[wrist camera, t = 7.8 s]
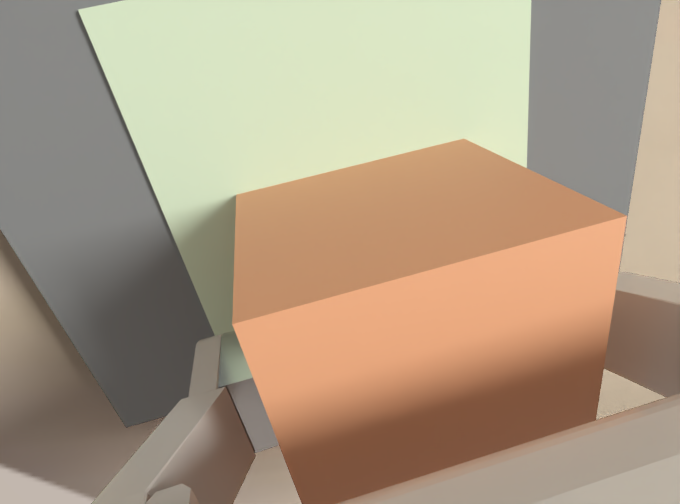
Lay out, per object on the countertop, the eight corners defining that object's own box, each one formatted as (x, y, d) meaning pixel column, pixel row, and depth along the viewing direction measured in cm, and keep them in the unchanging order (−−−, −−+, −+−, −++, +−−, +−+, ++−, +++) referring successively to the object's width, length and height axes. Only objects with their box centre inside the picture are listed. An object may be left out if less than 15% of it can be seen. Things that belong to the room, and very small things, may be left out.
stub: (464, 138, 9) (626, 215, 5) (473, 347, 12) (583, 496, 8) (236, 195, 9) (232, 323, 5) (301, 397, 12) (332, 582, 8)
